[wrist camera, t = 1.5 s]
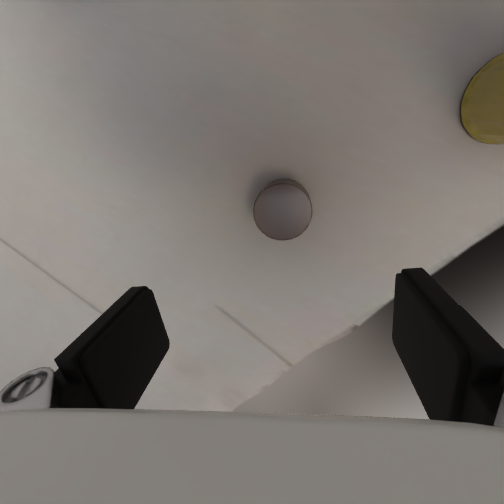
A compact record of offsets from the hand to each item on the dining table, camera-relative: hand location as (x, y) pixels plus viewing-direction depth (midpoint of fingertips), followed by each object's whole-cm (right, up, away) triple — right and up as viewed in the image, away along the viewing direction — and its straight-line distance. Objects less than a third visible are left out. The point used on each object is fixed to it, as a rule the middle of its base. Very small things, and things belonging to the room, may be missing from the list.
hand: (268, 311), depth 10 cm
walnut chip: (+2, +7, +15) cm, 16 cm away
